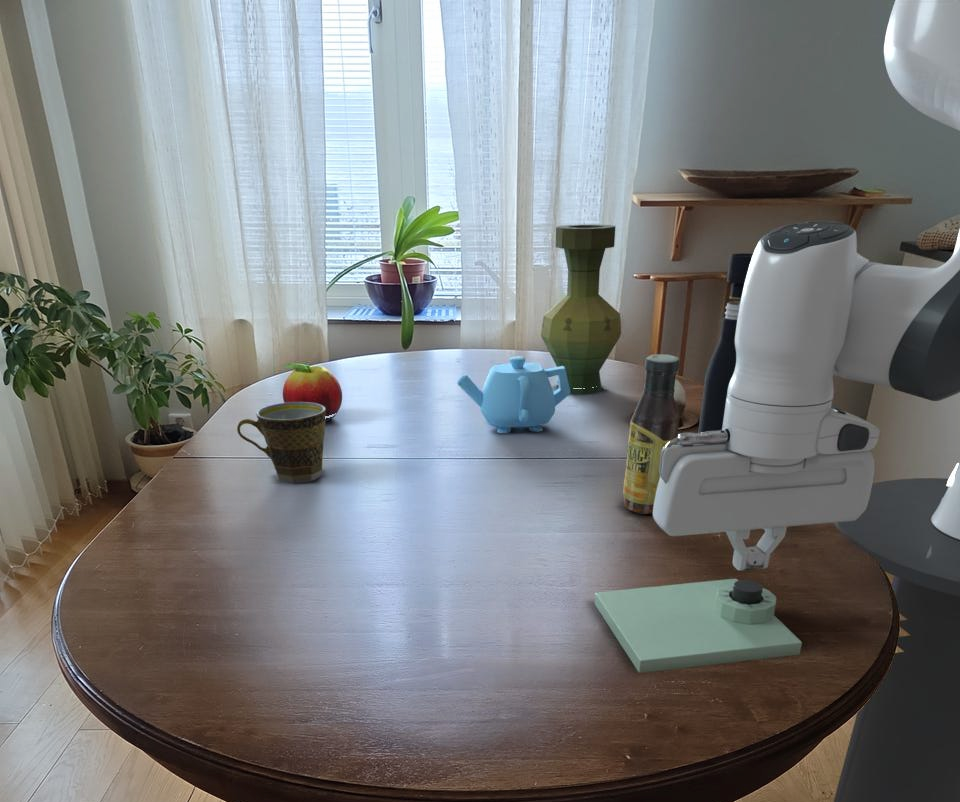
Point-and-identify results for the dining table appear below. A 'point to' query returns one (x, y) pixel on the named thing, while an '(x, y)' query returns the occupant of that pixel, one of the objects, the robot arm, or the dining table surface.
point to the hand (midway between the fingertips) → (749, 567)
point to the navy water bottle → (724, 350)
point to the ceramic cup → (292, 439)
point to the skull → (681, 407)
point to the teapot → (518, 394)
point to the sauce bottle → (651, 433)
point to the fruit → (313, 387)
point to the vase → (582, 309)
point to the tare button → (747, 592)
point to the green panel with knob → (694, 626)
